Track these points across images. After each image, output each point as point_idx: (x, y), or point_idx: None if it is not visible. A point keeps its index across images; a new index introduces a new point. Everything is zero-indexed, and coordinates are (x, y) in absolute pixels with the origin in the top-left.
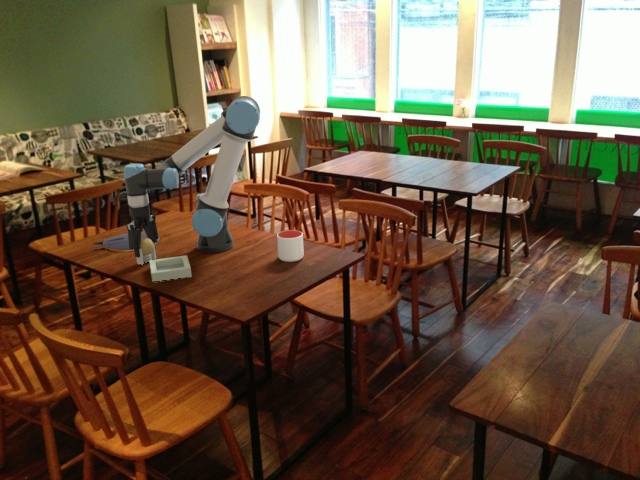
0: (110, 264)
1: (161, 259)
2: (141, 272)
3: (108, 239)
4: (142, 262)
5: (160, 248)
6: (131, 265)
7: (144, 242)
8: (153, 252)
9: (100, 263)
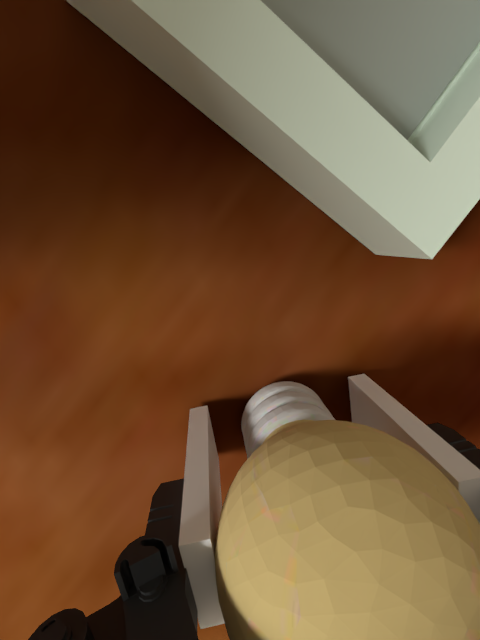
0: None
1: (345, 142)
2: (465, 258)
3: None
4: (371, 384)
5: (3, 581)
6: None
7: (471, 562)
8: (210, 450)
9: None
